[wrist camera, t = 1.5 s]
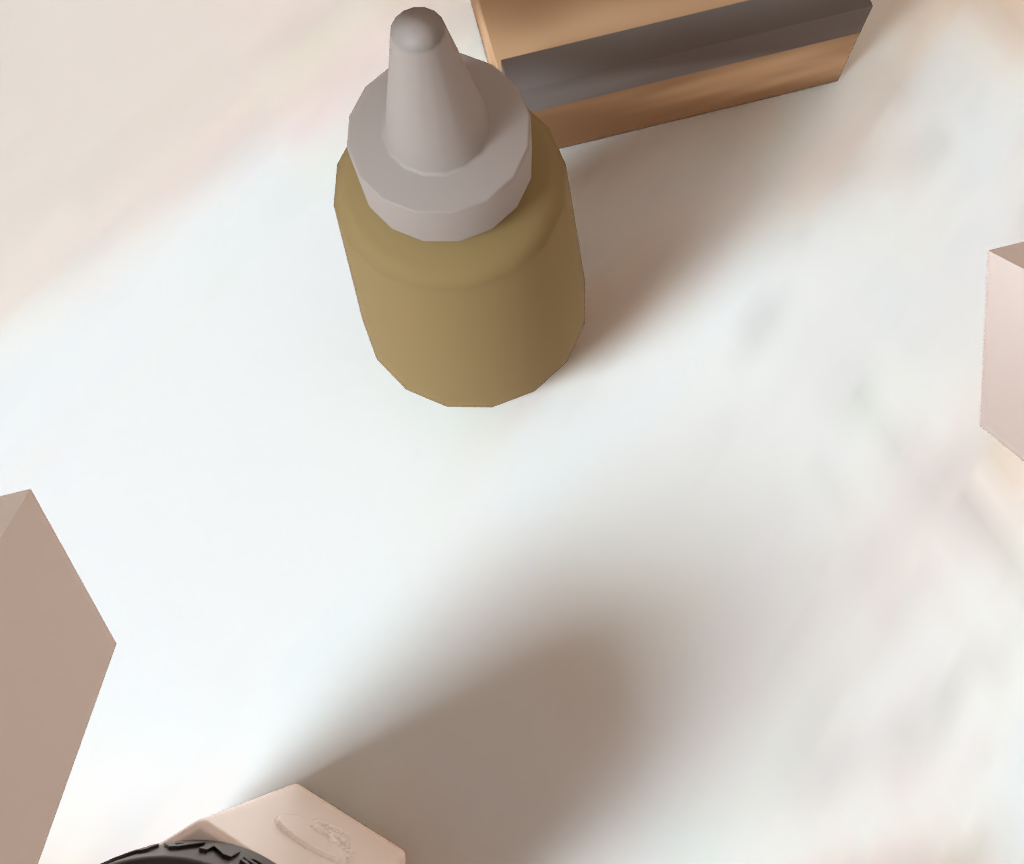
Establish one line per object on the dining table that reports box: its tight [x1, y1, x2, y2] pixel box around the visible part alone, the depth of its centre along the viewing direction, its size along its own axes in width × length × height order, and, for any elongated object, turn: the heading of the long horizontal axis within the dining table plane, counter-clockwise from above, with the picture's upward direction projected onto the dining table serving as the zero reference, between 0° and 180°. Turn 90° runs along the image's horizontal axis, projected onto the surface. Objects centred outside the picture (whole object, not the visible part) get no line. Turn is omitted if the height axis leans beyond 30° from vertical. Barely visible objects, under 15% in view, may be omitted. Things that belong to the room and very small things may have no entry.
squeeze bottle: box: [334, 7, 585, 407], centre depth 28 cm, size 8×8×18 cm
